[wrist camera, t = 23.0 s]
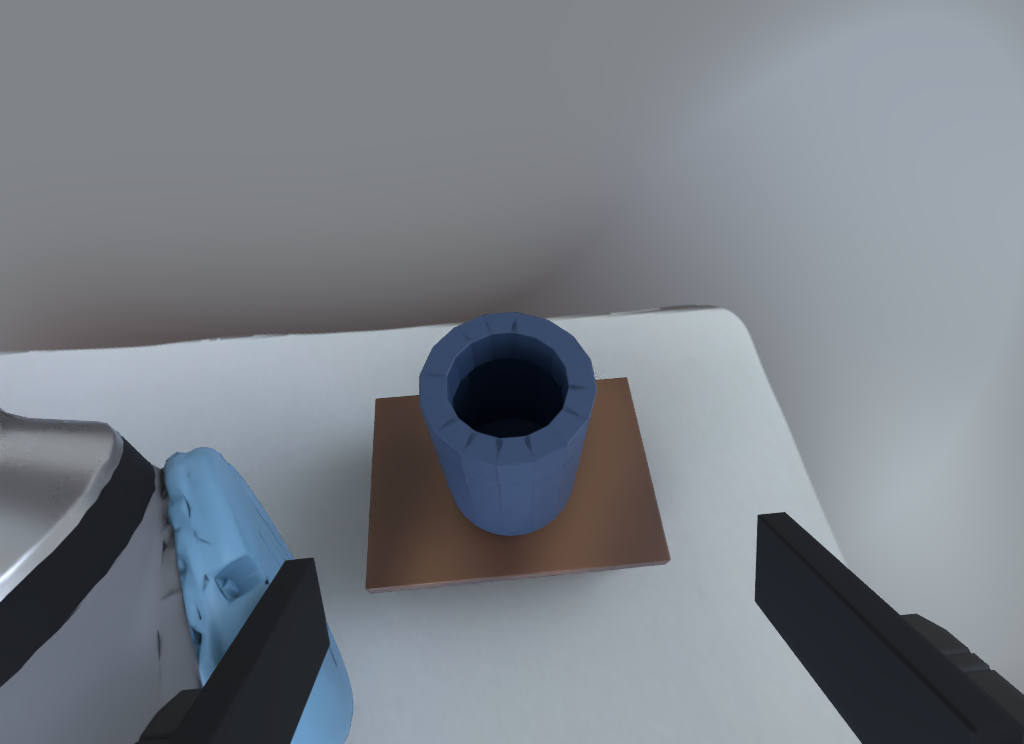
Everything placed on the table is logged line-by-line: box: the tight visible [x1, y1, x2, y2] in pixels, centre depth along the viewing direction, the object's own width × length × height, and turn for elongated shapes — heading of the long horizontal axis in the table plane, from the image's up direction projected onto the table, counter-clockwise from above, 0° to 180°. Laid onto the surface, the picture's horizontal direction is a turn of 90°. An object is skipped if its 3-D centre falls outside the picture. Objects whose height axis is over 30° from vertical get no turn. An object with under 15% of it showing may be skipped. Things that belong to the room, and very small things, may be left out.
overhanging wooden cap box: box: [366, 377, 670, 593], centre depth 35 cm, size 17×12×6 cm
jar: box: [419, 312, 597, 536], centre depth 27 cm, size 8×8×11 cm
